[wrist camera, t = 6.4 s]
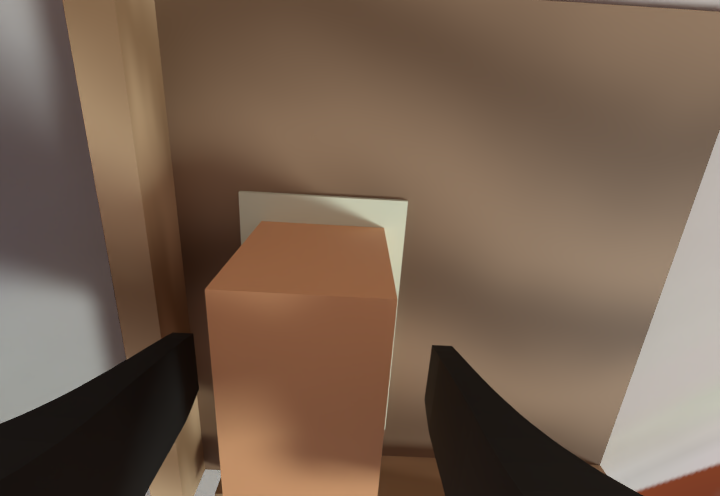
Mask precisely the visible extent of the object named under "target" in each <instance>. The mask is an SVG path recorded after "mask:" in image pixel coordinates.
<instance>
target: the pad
mask: <svg viewBox="0 0 720 496" xmlns="http://www.w3.org/2000/svg"><path fill="white" fill-rule="evenodd" d="M238 193H239V213H240V232H241V245H242V244H243V243H244V242H245V240H246V239H247V238H248V237H249V235H250V234H251V233H252V232H253V231H254V229H255V228H256V227H257V226H258V225H259V223H260V222H261V221H270V222H288V223H306V224H324V225H342V226H360V227H378V228H384V230H385V236H386V241H387V246H388V251H389V257H390V262H391V267H392V273H393V278H394V283H395V289H396V294H397V299H398V296H399V286H400V276H401V266H402V256H403V246H404V236H405V226H406V216H407V206H408V200H397V199H379V198H361V197H343V196H325V195H307V194H289V193H271V192H253V191H239V192H238ZM397 306H398V300H397ZM396 316H397V310H396ZM395 326H396V320H395ZM394 336H395V329H394ZM393 346H394V339H393ZM392 356H393V349H392ZM391 366H392V359H391ZM390 376H391V369H390ZM389 386H390V379H389ZM388 396H389V388H388ZM387 406H388V398H387ZM386 416H387V408H386ZM385 426H386V418H385ZM384 430H385V428H384Z"/></svg>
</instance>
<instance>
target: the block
mask: <svg viewBox="0 0 720 496" xmlns="http://www.w3.org/2000/svg"><path fill="white" fill-rule="evenodd" d="M205 299H206V310H207V321H208V333H209V344H210V356H211V367H212V379H213V390H214V401H215V413H216V424H217V436H218V447H219V458H220V470H221V481H222V493H223V496H378V487H379V477H380V467H381V457H382V447H383V438H384V428H385V418H386V408H387V398H388V388H389V379H390V369H391V359H392V349H393V339H394V329H395V320H396V310H397V300H398V299H397V294H396V289H395V283H394V278H393V273H392V267H391V262H390V257H389V251H388V246H387V241H386V236H385V230H384V228H378V227H360V226H342V225H324V224H306V223H288V222H270V221H261V222H260V223H259V225H258V226H257V227H256V228H255V229H254V231H253V232H252V233H251V234H250V235H249V237H248V238H247V239H246V240H245V242H244V243H243V244H242V245H241V246H240V248H239V249H238V250H237V251H236V252H235V254H234V255H233V256H232V257H231V258H230V260H229V261H228V262H227V263H226V264H225V266H224V267H223V268H222V269H221V270H220V272H219V273H218V274H217V275H216V276H215V278H214V279H213V280H212V281H211V282H210V284H209V285H208V286H207V287H206V288H205Z"/></svg>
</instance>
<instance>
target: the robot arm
mask: <svg viewBox="0 0 720 496" xmlns="http://www.w3.org/2000/svg"><path fill="white" fill-rule="evenodd" d="M198 391H199V383H198V374H197V364H196V355H195V345H194V336H193V333H174V332H173V333H171V334H169V335H167V336H165V337H163V338H162V339H160V340H158V341H157V342H155V343H153V344H152V345H150V346H148V347H147V348H145V349H143V350H142V351H140V352H138V353H137V354H135V355H134V356H132V357H130V358H129V359H127V360H125V361H124V362H122V363H120V364H119V365H117V366H115V367H114V368H112V369H110V370H109V371H107V372H105V373H103V374H101V375H100V376H98V377H96V378H94V379H92V380H91V381H89V382H87V383H85V384H83V385H82V386H80V387H78V388H76V389H74V390H72V391H71V392H69V393H67V394H65V395H63V396H61V397H59V398H57V399H55V400H53V401H51V402H49V403H46V404H44V405H42V406H40V407H38V408H36V409H34V410H32V411H29V412H27V413H25V414H23V415H20V416H18V417H16V418H13V419H11V420H8V421H6V422H3V423H1V424H0V496H145V494H146V492H147V491H148V489H149V487H150V485H151V483H152V482H153V480H154V478H155V476H156V475H157V473H158V471H159V469H160V467H161V466H162V464H163V462H164V460H165V459H166V457H167V455H168V453H169V452H170V450H171V448H172V446H173V444H174V443H175V441H176V439H177V437H178V435H179V434H180V432H181V430H182V428H183V426H184V424H185V423H186V421H187V418H188V416H189V414H190V411H191V409H192V406H193V404H194V401H195V399H196V396H197V393H198ZM424 400H425V408H426V416H427V424H428V431H429V435H430V439H431V443H432V447H433V451H434V455H435V459H436V463H437V466H438V470H439V474H440V478H441V482H442V486H443V489H444V493H445V496H643V495H640V494H639V493H637V492H635V491H633V490H632V489H630V488H628V487H626V486H625V485H623V484H621V483H619V482H618V481H616V480H614V479H612V478H611V477H609V476H607V475H606V474H604V473H602V472H601V471H599V470H597V469H596V468H594V467H593V466H591V465H589V464H588V463H586V462H585V461H583V460H582V459H580V458H579V457H577V456H576V455H574V454H573V453H571V452H570V451H568V450H567V449H565V448H564V447H562V446H561V445H559V444H558V443H557V442H555V441H554V440H552V439H551V438H550V437H548V436H547V435H546V434H545V433H543V432H542V431H541V430H539V429H538V428H537V427H536V426H534V425H533V424H532V423H530V422H529V421H528V420H527V419H526V418H524V417H523V416H522V415H521V414H520V413H518V412H517V411H516V410H515V409H514V408H513V407H512V406H511V405H510V404H508V403H507V402H506V401H505V400H504V399H503V398H502V397H501V396H500V395H499V394H498V393H497V392H496V391H495V390H494V389H493V388H491V387H490V386H489V385H488V384H487V382H486V381H485V380H484V379H483V378H482V377H481V376H480V375H479V374H478V373H477V372H476V371H475V370H474V369H473V368H472V367H471V366H470V365H469V364H468V363H467V361H466V360H465V359H464V358H463V357H462V356H461V355H460V354H459V353H458V352H457V351H456V350H455V348H454V347H453V346H443V345H432V349H431V356H430V363H429V370H428V377H427V384H426V392H425V399H424Z"/></svg>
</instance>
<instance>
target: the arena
mask: <svg viewBox="0 0 720 496" xmlns="http://www.w3.org/2000/svg"><path fill="white" fill-rule="evenodd" d="M62 1H63V7H64V12H65V18H66V23H67V29H68V35H69V40H70V46H71V52H72V57H73V63H74V68H75V74H76V80H77V85H78V91H79V96H80V102H81V108H82V113H83V119H84V125H85V130H86V136H87V141H88V147H89V153H90V158H91V164H92V169H93V175H94V181H95V186H96V192H97V198H98V203H99V209H100V214H101V220H102V226H103V231H104V237H105V242H106V248H107V254H108V259H109V265H110V271H111V276H112V282H113V287H114V293H115V299H116V304H117V310H118V315H119V321H120V327H121V332H122V338H123V344H124V349H125V355H126V360H127V359H129V358H130V357H132V356H134V355H135V354H137V353H138V352H140V351H142V350H143V349H145V348H147V347H148V346H150V345H152V344H153V343H155V342H157V341H158V340H160V339H162V338H163V337H165V336H167V335H169V334H171V333H173V332H174V333H193V336H194V345H195V355H196V364H197V374H198V383H199V391H198V393H197V396H196V399H195V401H194V404H193V406H192V409H191V411H190V414H189V416H188V418H187V421H186V423H185V424H184V426H183V428H182V430H181V432H180V434H179V435H178V437H177V439H176V441H175V443H174V444H173V446H172V448H171V450H170V452H169V453H168V455H167V457H166V459H165V460H164V462H163V464H162V466H161V467H160V469H159V471H158V473H157V475H156V476H155V478H154V480H153V482H152V483H151V485H150V487H149V490H150V495H151V496H194V494H195V492H196V489H197V487H198V485H199V482H200V480H201V478H202V475H203V473H204V470H205V469H212V470H220V458H219V447H218V436H217V424H216V413H215V401H214V390H213V379H212V367H211V356H210V344H209V333H208V321H207V310H206V299H205V288H206V287H207V286H208V285H209V284H210V282H211V281H212V280H213V279H214V278H215V276H216V275H217V274H218V273H219V272H220V270H221V269H222V268H223V267H224V266H225V264H226V263H227V262H228V261H229V260H230V258H231V257H232V256H233V255H234V254H235V252H236V251H237V250H238V249H239V248H240V246H241V232H240V213H239V193H238V192H239V191H253V192H271V193H289V194H307V195H325V196H343V197H361V198H379V199H397V200H408V206H407V216H406V226H405V236H404V246H403V256H402V266H401V276H400V286H399V296H398V306H397V316H396V326H395V336H394V346H393V356H392V366H391V376H390V386H389V396H388V406H387V416H386V426H385V430H384V438H383V447H382V457H381V467H380V477H379V487H378V496H445V493H444V489H443V486H442V482H441V478H440V474H439V470H438V466H437V463H436V459H435V455H434V451H433V447H432V443H431V439H430V435H429V431H428V424H427V416H426V408H425V400H424V399H425V392H426V384H427V377H428V370H429V363H430V356H431V349H432V345H443V346H453V347H454V348H455V350H456V351H457V352H458V353H459V354H460V355H461V356H462V357H463V358H464V359H465V360H466V361H467V363H468V364H469V365H470V366H471V367H472V368H473V369H474V370H475V371H476V372H477V373H478V374H479V375H480V376H481V377H482V378H483V379H484V380H485V381H486V382H487V384H488V385H489V386H490V387H491V388H493V389H494V390H495V391H496V392H497V393H498V394H499V395H500V396H501V397H502V398H503V399H504V400H505V401H506V402H507V403H508V404H510V405H511V406H512V407H513V408H514V409H515V410H516V411H517V412H518V413H520V414H521V415H522V416H523V417H524V418H526V419H527V420H528V421H529V422H530V423H532V424H533V425H534V426H536V427H537V428H538V429H539V430H541V431H542V432H543V433H545V434H546V435H547V436H548V437H550V438H551V439H552V440H554V441H555V442H557V443H558V444H559V445H561V446H562V447H564V448H565V449H567V450H568V451H570V452H571V453H573V454H574V455H576V456H577V457H579V458H580V459H582V460H583V461H585V462H586V463H588V464H589V465H591V466H593V467H594V468H596V469H597V470H599V471H601V472H602V473H604V474H605V472H604V471H603V469H602V468H601V466H600V463H601V460H602V457H603V455H604V452H605V449H606V446H607V443H608V441H609V438H610V435H611V432H612V429H613V427H614V424H615V421H616V418H617V415H618V413H619V410H620V407H621V404H622V401H623V399H624V396H625V393H626V390H627V387H628V385H629V382H630V379H631V376H632V373H633V371H634V368H635V365H636V362H637V359H638V357H639V354H640V351H641V348H642V345H643V343H644V340H645V337H646V334H647V331H648V329H649V326H650V323H651V320H652V317H653V315H654V312H655V309H656V306H657V303H658V301H659V298H660V295H661V292H662V289H663V287H664V284H665V281H666V278H667V275H668V273H669V270H670V267H671V264H672V262H673V259H674V256H675V253H676V250H677V248H678V245H679V242H680V239H681V236H682V234H683V231H684V228H685V225H686V222H687V220H688V217H689V214H690V211H691V208H692V206H693V203H694V200H695V197H696V194H697V192H698V189H699V186H700V183H701V180H702V178H703V175H704V172H705V169H706V166H707V164H708V161H709V158H710V155H711V152H712V150H713V147H714V144H715V141H716V138H717V136H718V133H719V130H720V12H718V11H702V10H687V9H672V8H656V7H641V6H626V5H610V4H595V3H580V2H564V1H549V0H62ZM215 496H223V493H222V481H221V479H220V482H219V484H218V487H217V490H216V492H215Z"/></svg>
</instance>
